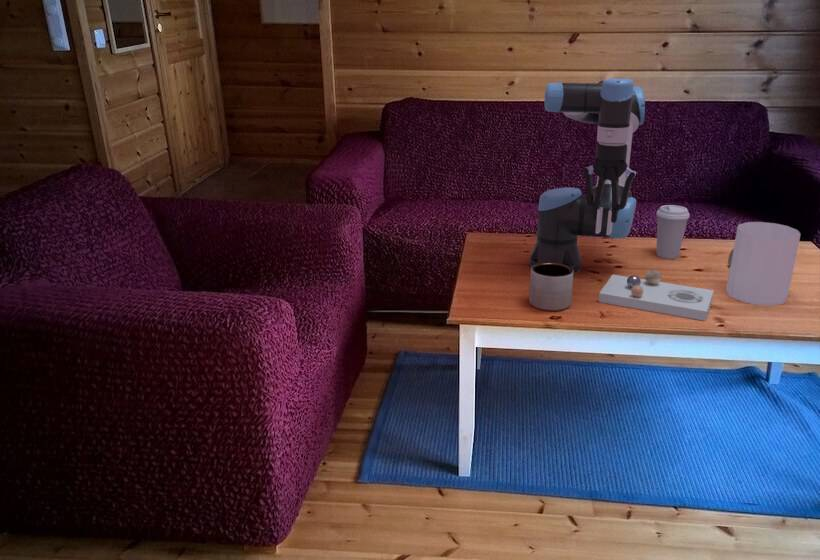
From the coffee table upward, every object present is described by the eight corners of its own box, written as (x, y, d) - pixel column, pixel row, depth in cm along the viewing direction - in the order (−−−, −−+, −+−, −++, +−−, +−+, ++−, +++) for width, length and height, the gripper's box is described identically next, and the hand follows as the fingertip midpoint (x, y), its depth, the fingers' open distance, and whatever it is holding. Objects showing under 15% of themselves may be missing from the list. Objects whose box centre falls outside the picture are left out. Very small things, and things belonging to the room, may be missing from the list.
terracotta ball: (629, 297, 171) (630, 286, 170) (631, 293, 174) (633, 282, 173) (641, 299, 170) (642, 288, 169) (643, 295, 172) (645, 284, 171)
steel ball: (624, 289, 177) (626, 276, 175) (627, 284, 180) (628, 272, 178) (638, 291, 175) (639, 278, 174) (641, 286, 178) (642, 274, 177)
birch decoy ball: (643, 285, 179) (644, 271, 178) (646, 280, 182) (647, 266, 181) (658, 287, 177) (660, 273, 176) (661, 282, 180) (663, 268, 179)
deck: (598, 301, 175) (599, 293, 174) (611, 282, 188) (612, 274, 187) (705, 320, 164) (707, 311, 163) (712, 299, 176) (713, 290, 175)
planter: (562, 315, 168) (565, 279, 164) (522, 306, 173) (524, 272, 170) (577, 300, 177) (579, 266, 173) (538, 292, 182) (540, 259, 178)
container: (730, 281, 187) (741, 219, 181) (788, 290, 181) (801, 226, 174) (723, 299, 176) (734, 233, 169) (785, 309, 169) (799, 242, 162)
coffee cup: (656, 248, 214) (662, 202, 209) (687, 253, 209) (694, 207, 203) (647, 256, 207) (652, 209, 201) (678, 262, 202) (685, 214, 196)
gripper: (577, 143, 168) (570, 233, 177) (640, 148, 161) (630, 241, 170) (585, 138, 174) (578, 225, 183) (646, 142, 167) (636, 233, 176)
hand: (603, 232), depth 176 cm, fingers open, 2 cm apart
